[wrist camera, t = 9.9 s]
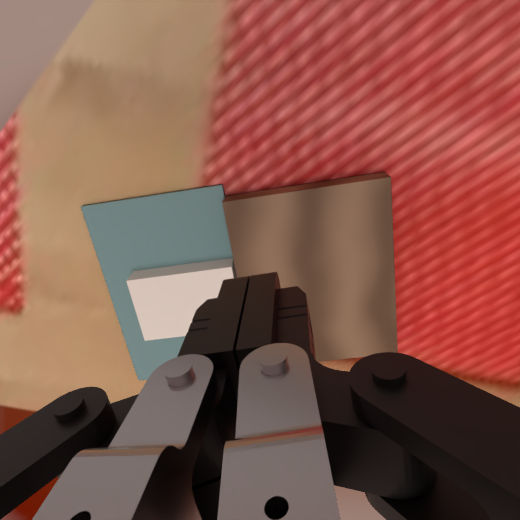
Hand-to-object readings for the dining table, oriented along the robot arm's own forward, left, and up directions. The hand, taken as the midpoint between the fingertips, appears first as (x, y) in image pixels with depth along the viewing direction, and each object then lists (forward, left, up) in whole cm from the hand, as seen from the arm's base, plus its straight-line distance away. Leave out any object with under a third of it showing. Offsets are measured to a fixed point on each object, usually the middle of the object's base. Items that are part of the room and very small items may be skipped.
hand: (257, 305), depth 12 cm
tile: (+9, +10, -23) cm, 26 cm away
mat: (+10, +10, -23) cm, 27 cm away
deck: (-3, +10, -23) cm, 25 cm away
